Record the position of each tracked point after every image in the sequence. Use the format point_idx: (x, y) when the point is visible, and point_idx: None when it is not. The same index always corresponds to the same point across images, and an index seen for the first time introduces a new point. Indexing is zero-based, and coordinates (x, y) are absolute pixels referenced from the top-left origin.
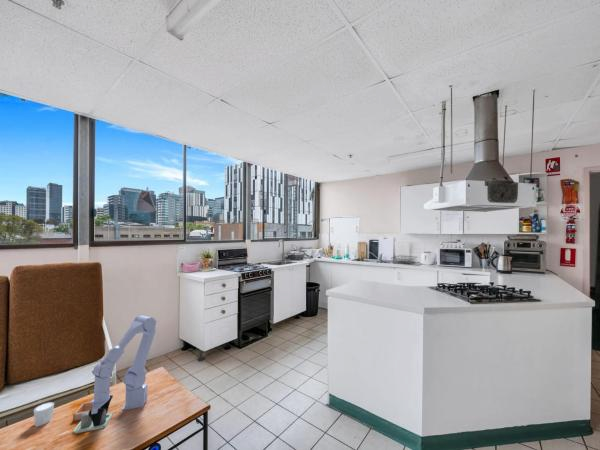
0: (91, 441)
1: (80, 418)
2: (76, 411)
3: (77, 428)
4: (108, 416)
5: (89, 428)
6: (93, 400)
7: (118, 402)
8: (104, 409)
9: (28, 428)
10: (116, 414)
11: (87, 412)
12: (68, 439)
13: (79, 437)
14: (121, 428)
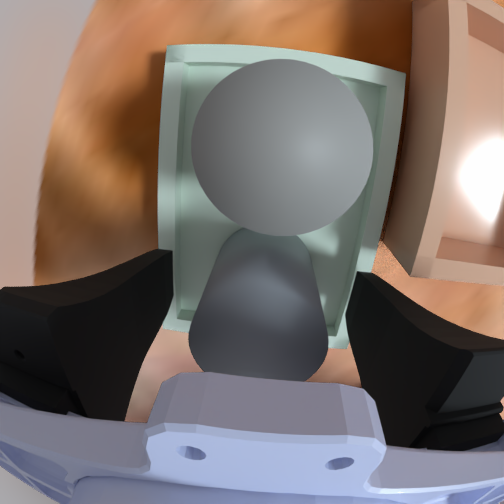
0: (54, 255)
1: (421, 54)
2: (497, 9)
3: (236, 65)
4: (336, 314)
5: (160, 205)
6: (261, 483)
7: (498, 323)
8: (289, 376)
9: None
10: (344, 355)
11: (330, 145)
12: (120, 52)
13: (112, 139)
14: (147, 394)
